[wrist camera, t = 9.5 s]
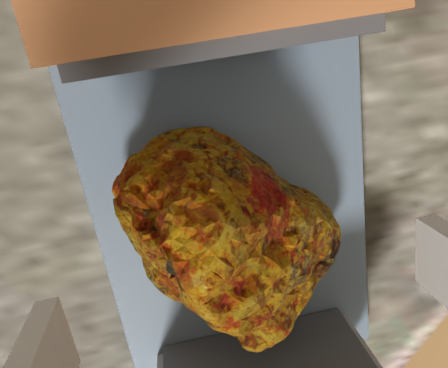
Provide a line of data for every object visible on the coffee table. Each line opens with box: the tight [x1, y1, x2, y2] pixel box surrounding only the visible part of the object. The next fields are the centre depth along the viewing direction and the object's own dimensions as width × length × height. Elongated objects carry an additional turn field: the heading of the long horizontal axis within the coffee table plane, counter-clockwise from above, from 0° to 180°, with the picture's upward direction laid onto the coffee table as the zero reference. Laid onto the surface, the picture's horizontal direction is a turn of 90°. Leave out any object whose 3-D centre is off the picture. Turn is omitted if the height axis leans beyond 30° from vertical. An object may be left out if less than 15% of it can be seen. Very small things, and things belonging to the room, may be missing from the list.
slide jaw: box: [11, 0, 415, 84], centre depth 15 cm, size 12×3×7 cm, turn 99°
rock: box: [112, 126, 341, 353], centre depth 19 cm, size 11×8×10 cm
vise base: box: [48, 36, 382, 368], centre depth 19 cm, size 15×23×8 cm, turn 8°
